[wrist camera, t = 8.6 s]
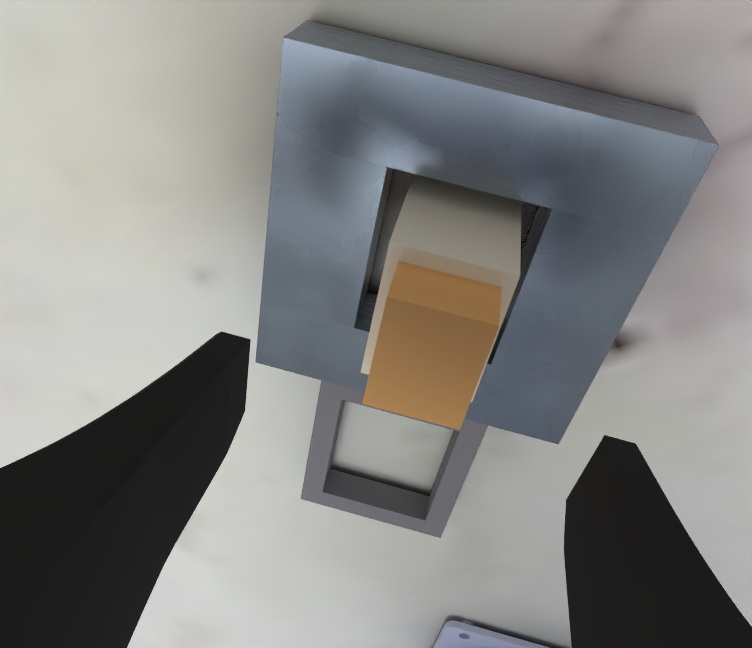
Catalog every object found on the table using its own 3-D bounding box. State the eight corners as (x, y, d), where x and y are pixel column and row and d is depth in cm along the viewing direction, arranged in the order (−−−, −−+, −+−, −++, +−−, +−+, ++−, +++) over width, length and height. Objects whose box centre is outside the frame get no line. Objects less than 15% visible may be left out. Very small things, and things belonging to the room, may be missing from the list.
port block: (699, 116, 16) (718, 145, 14) (556, 401, 22) (558, 444, 20) (307, 20, 16) (283, 37, 14) (275, 326, 22) (255, 362, 20)
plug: (521, 191, 18) (519, 314, 13) (481, 305, 20) (467, 444, 15) (417, 165, 18) (376, 277, 13) (389, 282, 20) (347, 412, 15)
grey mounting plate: (491, 397, 22) (489, 422, 21) (443, 513, 26) (440, 537, 25) (331, 354, 22) (322, 376, 21) (308, 475, 26) (300, 498, 26)
